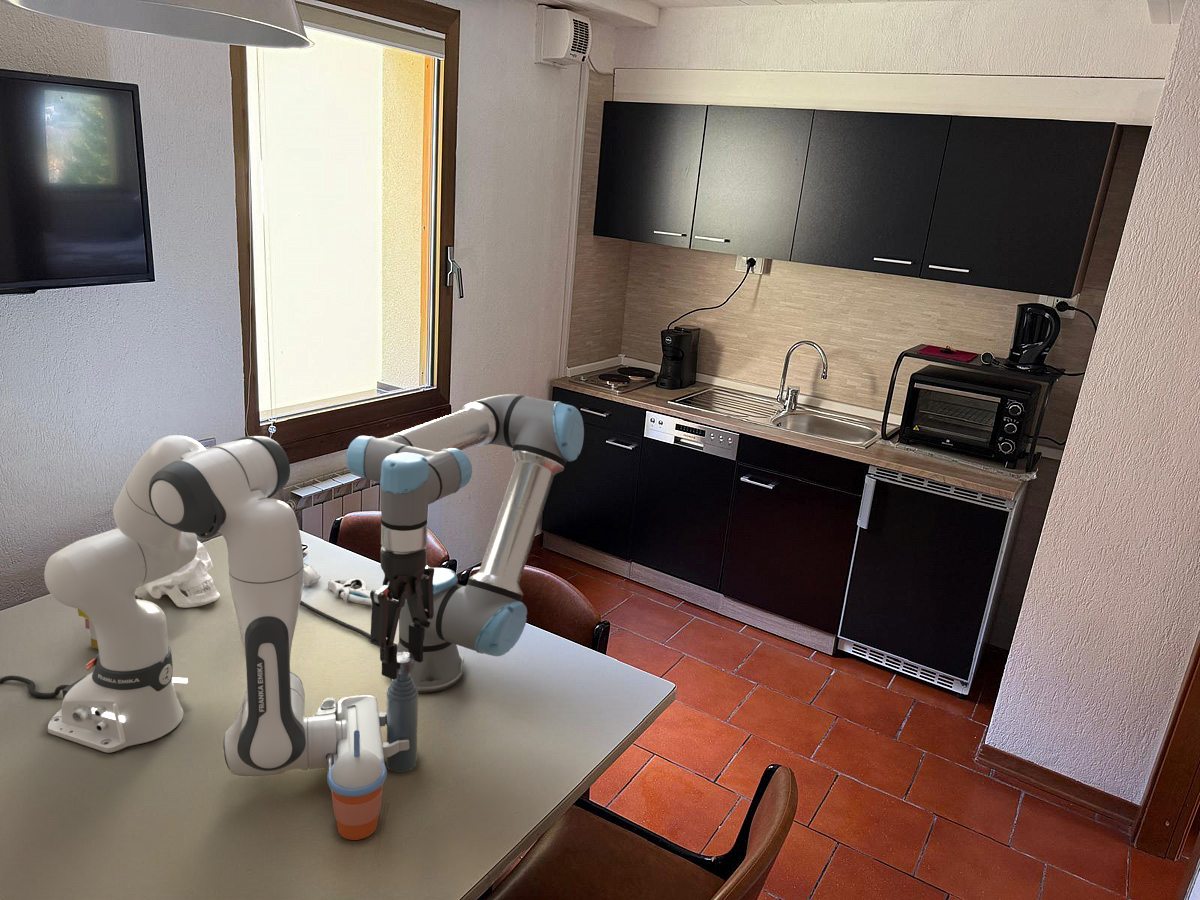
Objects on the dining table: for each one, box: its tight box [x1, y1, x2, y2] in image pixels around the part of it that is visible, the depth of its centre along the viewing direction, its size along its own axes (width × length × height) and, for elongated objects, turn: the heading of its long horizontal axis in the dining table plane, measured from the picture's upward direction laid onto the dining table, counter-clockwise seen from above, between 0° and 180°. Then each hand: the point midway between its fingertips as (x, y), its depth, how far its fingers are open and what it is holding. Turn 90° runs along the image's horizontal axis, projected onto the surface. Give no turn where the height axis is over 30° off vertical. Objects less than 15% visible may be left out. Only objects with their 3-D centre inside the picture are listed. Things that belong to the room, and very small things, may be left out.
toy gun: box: [327, 578, 372, 607], centre depth 212 cm, size 18×2×10 cm
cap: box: [397, 652, 414, 674], centre depth 149 cm, size 4×4×2 cm
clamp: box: [303, 562, 322, 587], centre depth 219 cm, size 20×4×7 cm, turn 62°
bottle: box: [386, 673, 419, 773], centre depth 152 cm, size 5×5×21 cm
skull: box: [142, 540, 221, 609], centre depth 204 cm, size 13×22×16 cm, turn 73°
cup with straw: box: [326, 730, 388, 841], centre depth 136 cm, size 9×9×18 cm
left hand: (407, 731), depth 153 cm, fingers closed on bottle, 5 cm apart
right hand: (402, 667), depth 149 cm, fingers open, 6 cm apart
